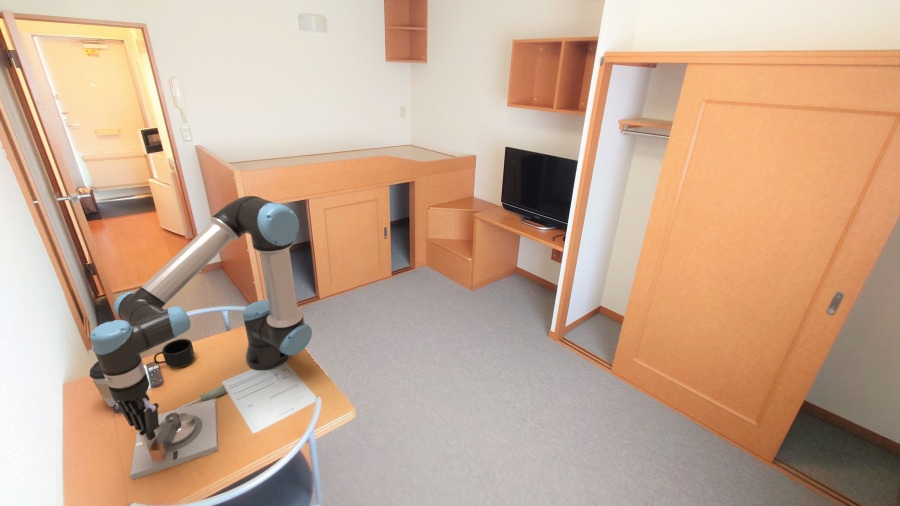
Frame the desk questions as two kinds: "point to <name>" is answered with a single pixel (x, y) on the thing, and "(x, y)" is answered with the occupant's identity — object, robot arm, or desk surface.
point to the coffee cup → (101, 383)
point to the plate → (188, 450)
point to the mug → (177, 353)
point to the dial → (171, 434)
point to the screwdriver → (208, 396)
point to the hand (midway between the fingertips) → (151, 445)
